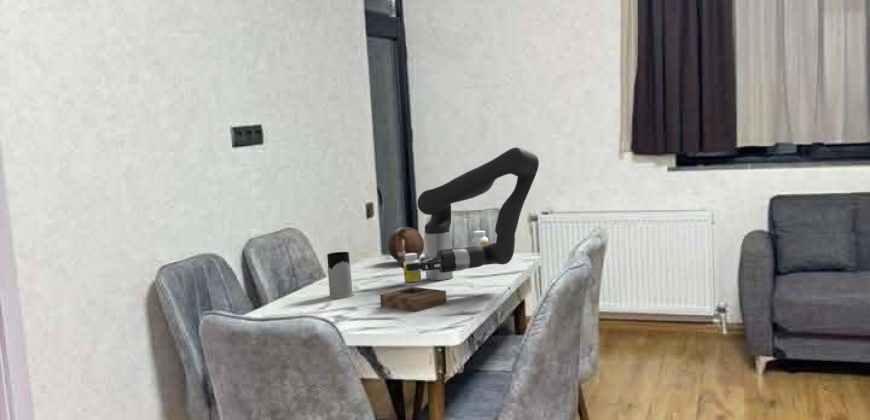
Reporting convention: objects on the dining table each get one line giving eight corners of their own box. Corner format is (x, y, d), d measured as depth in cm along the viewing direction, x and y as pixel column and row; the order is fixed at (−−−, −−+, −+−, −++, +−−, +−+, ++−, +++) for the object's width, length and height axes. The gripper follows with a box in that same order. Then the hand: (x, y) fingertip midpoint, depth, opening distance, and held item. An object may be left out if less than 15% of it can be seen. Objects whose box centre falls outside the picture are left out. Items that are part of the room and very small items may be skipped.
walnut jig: (381, 306, 287) (380, 294, 286) (412, 298, 297) (411, 286, 296) (415, 311, 276) (414, 299, 275) (446, 303, 285) (445, 290, 285)
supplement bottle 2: (491, 261, 361) (489, 230, 359) (487, 264, 354) (485, 232, 353) (476, 261, 363) (473, 230, 362) (471, 264, 357) (469, 232, 355)
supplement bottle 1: (405, 283, 291) (402, 253, 290) (421, 281, 291) (419, 252, 290) (404, 286, 286) (402, 256, 285) (421, 284, 286) (419, 254, 285)
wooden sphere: (404, 259, 382) (401, 224, 381) (432, 260, 374) (429, 225, 372) (382, 265, 370) (379, 229, 369) (410, 266, 362) (408, 230, 360)
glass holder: (334, 300, 303) (330, 256, 302) (319, 294, 316) (316, 252, 314) (357, 296, 307) (354, 253, 306) (342, 290, 320) (339, 249, 318)
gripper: (445, 246, 298) (396, 252, 293) (459, 251, 285) (409, 257, 280) (446, 268, 299) (398, 274, 294) (461, 274, 286) (411, 281, 280)
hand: (404, 266), depth 287 cm, fingers closed on supplement bottle 1, 5 cm apart
